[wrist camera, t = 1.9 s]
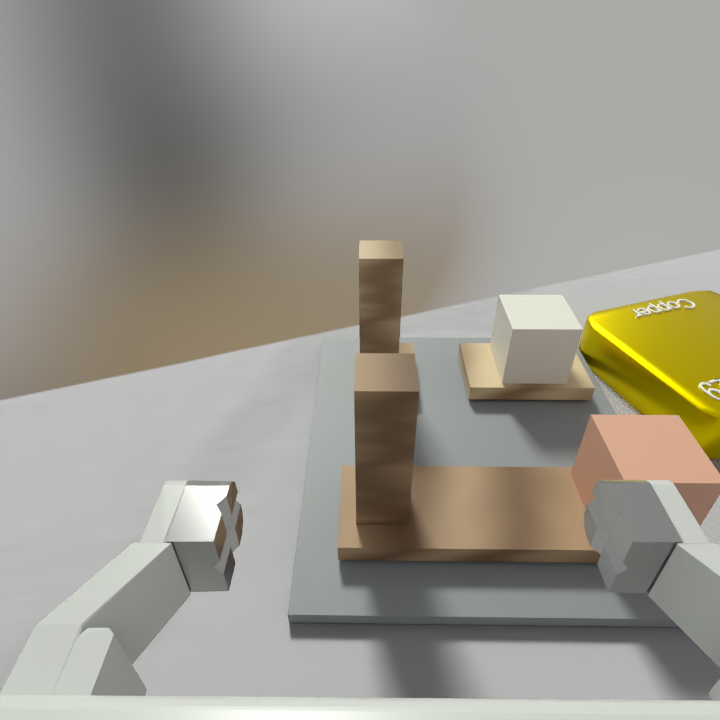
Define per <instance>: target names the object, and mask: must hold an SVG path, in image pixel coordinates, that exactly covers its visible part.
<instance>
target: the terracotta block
mask: <svg viewBox="0 0 720 720" xmlns="http://www.w3.org/2000/svg"><path fill="white" fill-rule="evenodd" d="M571 476H572V478H573V481H574V483H575V486H576V488H577V490H578V493H579V495H580V498H581V500H582V503H583V505H584V508H585V510H586V507H587V504H588V503H590V502H591V501H593V500H594V499H595V497H594V495H593V492H592V490H593V488H594V485H595V483H597V482H598V481H599V480H669V481H671V482H672V483H673V484H674V485H675V487H676V488H677V490H678V492H679V493H680V495H681V496H682V498H683V500H684V501H685V503H686V504H687V506H688V508H689V509H690V511H691V513H692V514H693V516H694V517H695V519H696V521H697V522H698V524H699V525H701V524H702V522H703V520H704V519H705V517H706V516H707V514H708V512H709V511H710V509H711V508H712V506H713V504H714V503H715V501H716V500H717V498H718V496H719V495H720V473H719V472H718V471H717V469H716V468H715V466H714V465H713V463H712V462H711V461H710V459H709V458H708V456H707V455H706V454H705V452H704V451H703V449H702V448H701V446H700V445H699V444H698V442H697V441H696V439H695V438H694V436H693V435H692V434H691V432H690V431H689V429H688V428H687V427H686V425H685V424H684V422H683V421H682V419H681V418H680V417H679V415H591V416H590V419H589V422H588V424H587V427H586V430H585V433H584V436H583V439H582V442H581V445H580V447H579V450H578V453H577V456H576V459H575V462H574V465H573V467H572V470H571Z"/></svg>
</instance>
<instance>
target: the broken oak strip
mask: <svg viewBox="0 0 720 720" xmlns="http://www.w3.org/2000/svg"><path fill="white" fill-rule="evenodd" d="M402 276H403V252H402V244H401V241H360V248H359V309H360V310H359V313H360V314H359V315H360V353H414V347H413V343H399V339H400V319H401V297H402ZM458 356H459V361H460V365H461V369H462V373H463V378H464V382H465V386H466V390H467V395H468V399H502V400H591V399H592V396H593V393H594V390H595V387H594V385H593V383H592V381H591V380H590V378H589V376H588V374H587V372H586V371H585V369H584V367H583V365H582V363H581V361H580V360H579V358H578V356H577V354H576V355H575V358H574V361H573V365H572V368H571V371H570V375H569V378H568V381H567V384H504V383H501V379H500V376H499V373H498V370H497V367H496V364H495V361H494V358H493V355H492V352H491V349H490V343H459V351H458Z"/></svg>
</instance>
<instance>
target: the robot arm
mask: <svg viewBox="0 0 720 720" xmlns="http://www.w3.org/2000/svg"><path fill="white" fill-rule="evenodd" d="M237 492H238V491H237V488H236V484H235V482H226V481H170V480H168V481H167V482H166V483H165V484H164V485H163V487H162V489H161V491H160V494H159V496H158V498H157V501H156V503H155V506H154V508H153V511H152V513H151V515H150V518H149V520H148V523H147V525H146V527H145V530H144V532H143V535H142V537H141V540H140V542H139V543H132V544H131V545H130V546H128V547H127V548H126V549H125V550H124V551H122V552H121V553H120V554H119V555H118V556H117V557H115V558H114V559H113V560H112V561H111V562H110V563H108V564H107V565H106V566H105V567H104V568H102V569H101V570H100V571H99V572H98V573H97V574H95V575H94V576H93V577H92V578H91V579H90V580H88V581H87V582H86V583H85V584H84V585H82V586H81V587H80V588H79V589H78V590H77V591H75V592H74V593H73V594H72V595H71V596H70V597H68V598H67V599H66V600H65V601H64V602H62V603H61V604H60V605H59V606H58V607H57V608H55V609H54V610H53V611H52V612H51V613H50V614H48V615H47V616H46V617H45V618H44V619H42V620H41V621H40V622H39V623H38V624H37V625H36V626H35V628H34V630H33V631H32V633H31V635H30V637H29V639H28V641H27V643H26V645H25V647H24V649H23V651H22V652H21V654H20V656H19V658H18V660H17V662H16V664H15V666H14V668H13V670H12V672H11V674H10V675H9V677H8V679H7V681H6V683H5V685H4V687H3V689H2V691H1V693H0V720H720V678H719V679H718V681H717V682H716V683H715V684H714V685H713V686H712V688H711V689H710V691H709V693H708V695H709V697H710V699H711V700H605V699H487V698H366V697H237V696H145V694H146V691H147V690H146V688H145V686H144V684H143V682H142V680H141V679H140V677H139V675H138V674H137V672H136V670H135V669H134V667H133V665H132V664H133V663H134V662H135V660H136V659H137V658H138V657H139V656H140V654H141V653H142V652H143V651H144V650H145V648H146V647H147V646H148V645H149V644H150V643H151V641H152V640H153V639H154V638H155V637H156V635H157V634H158V633H159V632H160V631H161V629H162V628H163V627H164V626H165V625H166V623H167V622H168V621H169V620H170V619H171V617H172V616H173V615H174V614H175V613H176V611H177V610H178V609H179V608H180V607H181V605H182V604H183V603H184V602H185V601H186V600H187V598H188V597H189V596H190V595H191V593H190V592H207V591H229V588H230V584H231V579H232V575H233V571H234V567H235V561H234V557H233V553H232V552H233V551H234V550H235V549H236V548H237V547H238V546H239V545H240V540H241V536H242V526H243V515H242V508H241V504H239V503H238V502H237V501H236V496H237ZM592 492H593V495H594V497H595V499H594V500H593V501H591V502H590V503H588V504H587V507H586V510H585V513H584V527H585V532H586V536H587V539H588V542H589V544H590V546H591V547H592V548H593V549H594V550H595V551H597V552H598V553H599V554H600V555H601V556H600V558H599V561H598V564H597V565H598V567H599V570H600V572H601V575H602V577H603V580H604V582H605V585H606V587H607V590H608V592H617V593H649V594H648V596H649V597H650V598H651V599H652V600H653V601H654V602H655V603H656V604H657V605H658V606H659V607H660V608H661V609H662V610H663V611H664V612H665V613H666V614H667V615H668V616H669V617H670V618H671V619H672V620H673V621H674V622H675V623H676V624H677V625H678V626H679V627H680V628H681V629H682V630H683V631H684V632H685V633H686V634H687V635H688V636H689V637H690V638H691V639H692V640H693V641H694V642H695V643H696V644H697V645H698V646H699V648H700V649H701V650H702V651H703V652H704V653H705V654H706V655H707V656H708V657H709V658H710V659H711V660H712V661H713V662H714V663H715V664H716V665H717V666H718V667H719V668H720V545H719V544H716V543H710V542H709V540H708V538H707V537H706V535H705V534H704V532H703V530H702V529H701V527H700V525H699V524H698V522H697V521H696V519H695V517H694V516H693V514H692V513H691V511H690V509H689V508H688V506H687V504H686V503H685V501H684V500H683V498H682V496H681V495H680V493H679V492H678V490H677V488H676V487H675V485H674V484H673V483H672V482H671V481H669V480H599V481H598V482H597V483H595V485H594V488H593V490H592Z"/></svg>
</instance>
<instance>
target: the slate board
mask: <svg viewBox="0 0 720 720" xmlns="http://www.w3.org/2000/svg"><path fill="white" fill-rule="evenodd" d="M490 342H491V338H400V339H399V343H413V347H414V353H415V360H416V369H417V377H418V385H419V400H418V413H417V425H416V437H415V450H414V462H413V466H480V467H573V465H574V462H575V459H576V456H577V453H578V450H579V447H580V445H581V442H582V439H583V436H584V433H585V430H586V427H587V424H588V422H589V419H590V416H591V415H616V414H615V412H614V410H613V409H612V407H611V405H610V403H609V401H608V400H607V398H606V396H605V394H604V393H603V391H602V389H601V387H600V385H599V384H598V382H597V380H596V378H595V377H594V375H593V373H592V371H591V369H590V368H589V366H588V364H587V362H586V361H585V359H584V357H583V355H582V353H581V352H580V350H579V348H577V351H576V354H577V356H578V358H579V360H580V361H581V363H582V365H583V367H584V369H585V371H586V372H587V374H588V376H589V378H590V380H591V381H592V383H593V385H594V387H595V390H594V393H593V396H592V399H591V400H502V399H468V395H467V390H466V386H465V382H464V378H463V373H462V369H461V365H460V361H459V356H458V351H459V343H490ZM356 353H360V338H328V337H323V345H322V353H321V361H320V369H319V376H318V384H317V392H316V400H315V408H314V415H313V423H312V431H311V439H310V447H309V454H308V462H307V470H306V478H305V485H304V493H303V501H302V509H301V517H300V524H299V532H298V540H297V548H296V556H295V563H294V571H293V579H292V587H291V595H290V602H289V610H288V618H289V622H301V623H381V624H462V625H542V626H623V627H679V626H678V625H677V624H676V623H675V622H674V621H673V620H672V619H671V618H670V617H669V616H668V615H667V614H666V613H665V612H664V611H663V610H662V609H661V608H660V607H659V606H658V605H657V604H656V603H655V602H654V601H653V600H652V599H651V598H650V597H649V596H648V594H649V593H617V592H608V590H607V587H606V585H605V582H604V580H603V577H602V575H601V572H600V570H599V567H598V565H597V564H598V563H564V562H469V561H374V560H338V531H339V513H340V495H341V478H342V465H351V466H355V418H354V380H355V354H356Z"/></svg>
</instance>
